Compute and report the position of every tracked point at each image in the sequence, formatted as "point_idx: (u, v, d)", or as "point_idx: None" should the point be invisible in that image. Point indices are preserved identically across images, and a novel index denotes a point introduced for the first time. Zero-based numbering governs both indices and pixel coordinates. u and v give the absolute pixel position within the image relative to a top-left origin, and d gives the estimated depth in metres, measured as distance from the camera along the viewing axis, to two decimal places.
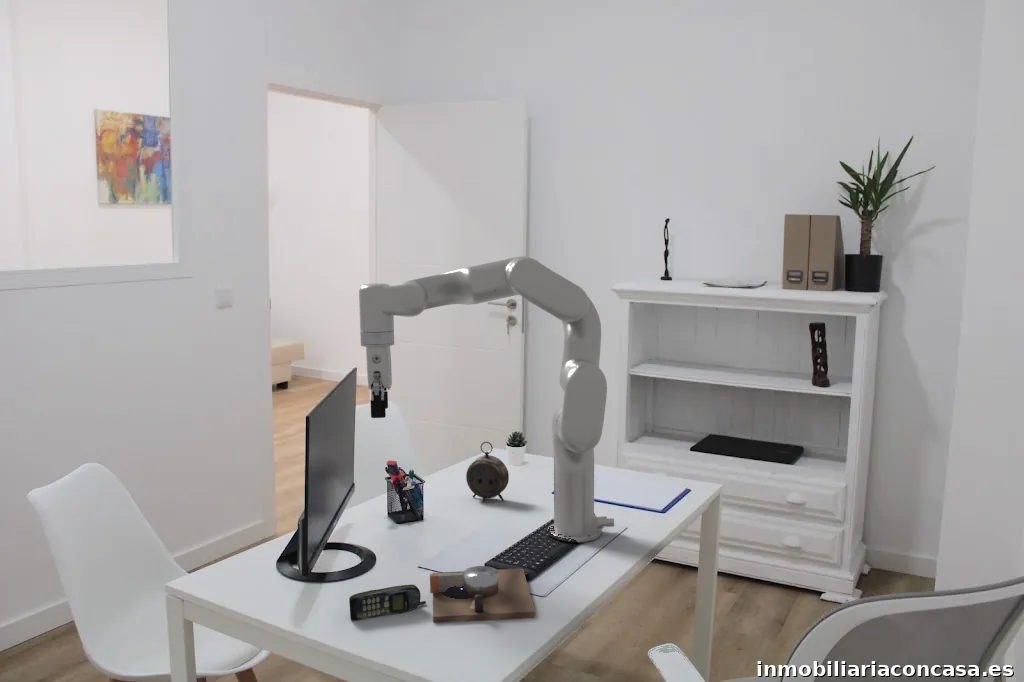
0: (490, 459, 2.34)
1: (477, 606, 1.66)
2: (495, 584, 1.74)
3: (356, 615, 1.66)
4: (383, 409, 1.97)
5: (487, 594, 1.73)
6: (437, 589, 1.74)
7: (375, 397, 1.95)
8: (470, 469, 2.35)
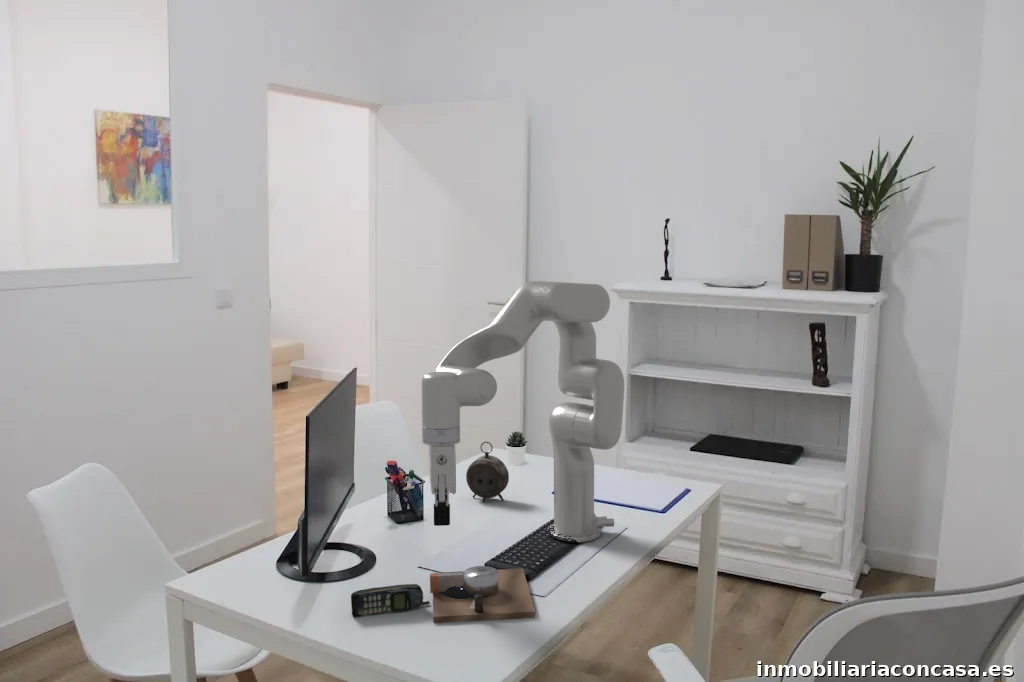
0: (490, 459, 2.34)
1: (477, 606, 1.66)
2: (495, 584, 1.74)
3: (357, 611, 1.67)
4: (447, 516, 1.77)
5: (487, 594, 1.73)
6: (437, 589, 1.74)
7: (440, 503, 1.75)
8: (470, 469, 2.35)
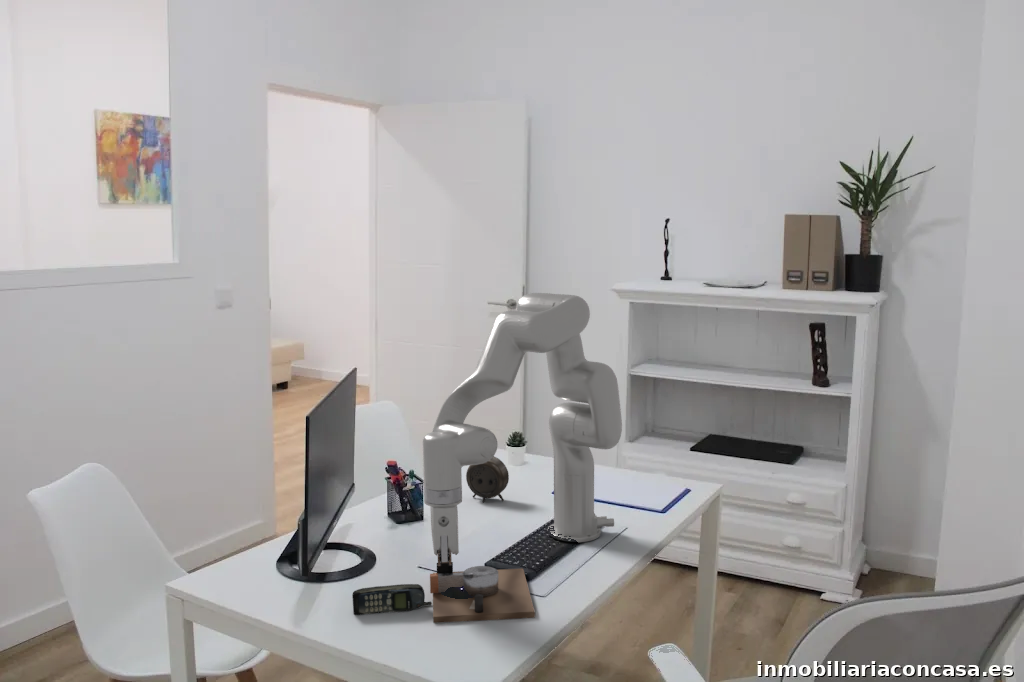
0: (490, 459, 2.34)
1: (477, 606, 1.66)
2: (495, 584, 1.74)
3: (358, 609, 1.68)
4: None
5: (487, 594, 1.73)
6: (437, 589, 1.74)
7: (442, 563, 1.75)
8: (470, 469, 2.35)
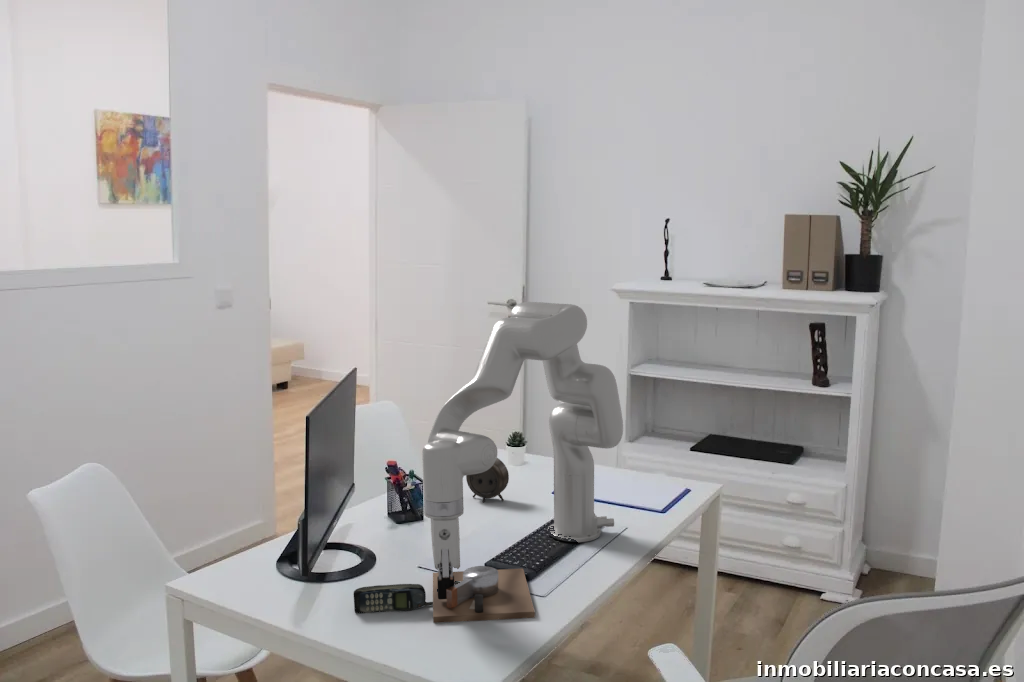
0: None
1: (477, 606, 1.66)
2: None
3: (359, 608, 1.69)
4: None
5: (497, 589, 1.75)
6: (456, 602, 1.68)
7: (443, 578, 1.68)
8: None
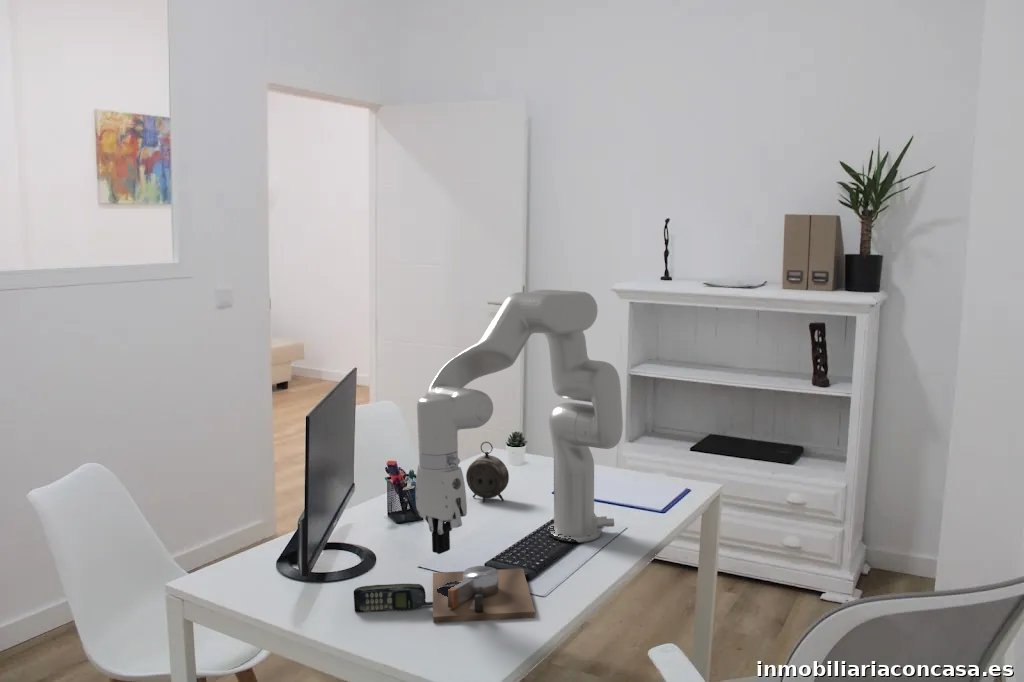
0: (490, 459, 2.34)
1: (477, 606, 1.66)
2: None
3: (358, 607, 1.69)
4: None
5: (497, 589, 1.75)
6: (457, 602, 1.68)
7: (447, 530, 1.70)
8: (470, 469, 2.35)
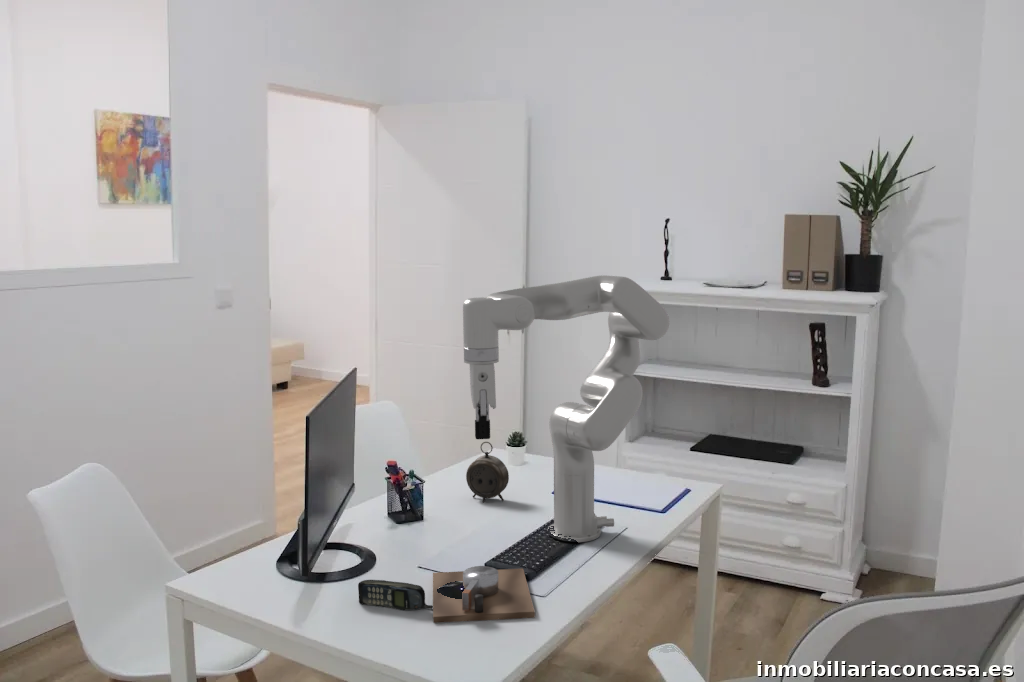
0: (490, 459, 2.34)
1: (477, 606, 1.66)
2: None
3: (361, 599, 1.73)
4: (488, 430, 1.92)
5: (498, 587, 1.76)
6: (471, 604, 1.67)
7: (481, 418, 1.90)
8: (470, 469, 2.35)
